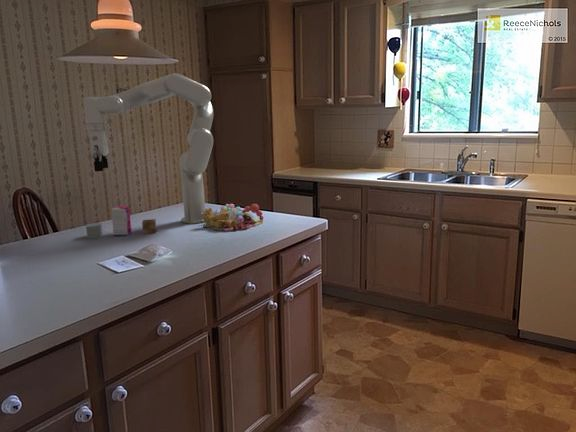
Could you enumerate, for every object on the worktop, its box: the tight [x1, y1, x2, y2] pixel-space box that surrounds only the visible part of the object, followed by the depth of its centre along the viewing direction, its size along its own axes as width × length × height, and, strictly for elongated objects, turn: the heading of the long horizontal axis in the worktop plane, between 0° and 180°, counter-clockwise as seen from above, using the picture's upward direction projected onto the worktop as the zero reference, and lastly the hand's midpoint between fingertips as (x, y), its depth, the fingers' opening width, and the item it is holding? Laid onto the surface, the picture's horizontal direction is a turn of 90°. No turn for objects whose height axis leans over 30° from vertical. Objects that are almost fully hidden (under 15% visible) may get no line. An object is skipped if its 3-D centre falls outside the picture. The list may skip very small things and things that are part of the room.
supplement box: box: [111, 205, 132, 237], centre depth 202 cm, size 6×6×12 cm
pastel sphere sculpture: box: [202, 203, 264, 232], centre depth 213 cm, size 25×24×9 cm
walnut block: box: [141, 218, 157, 235], centre depth 204 cm, size 5×5×5 cm
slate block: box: [85, 222, 103, 239], centre depth 200 cm, size 5×5×5 cm
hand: (101, 169), depth 202 cm, fingers open, 9 cm apart
